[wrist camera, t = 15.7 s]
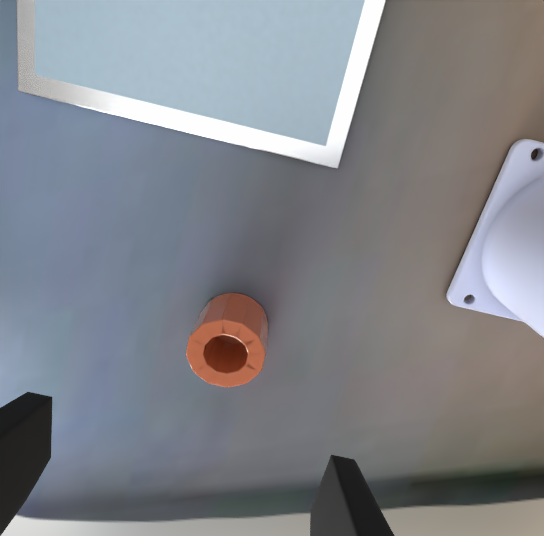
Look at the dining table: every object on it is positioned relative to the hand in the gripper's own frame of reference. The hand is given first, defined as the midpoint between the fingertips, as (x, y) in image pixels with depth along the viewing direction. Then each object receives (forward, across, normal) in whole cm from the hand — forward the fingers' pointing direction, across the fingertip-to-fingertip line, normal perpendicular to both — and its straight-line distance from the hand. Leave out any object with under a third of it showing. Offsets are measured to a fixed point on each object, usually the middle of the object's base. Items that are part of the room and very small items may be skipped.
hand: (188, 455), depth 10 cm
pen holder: (+10, 0, +2) cm, 11 cm away
